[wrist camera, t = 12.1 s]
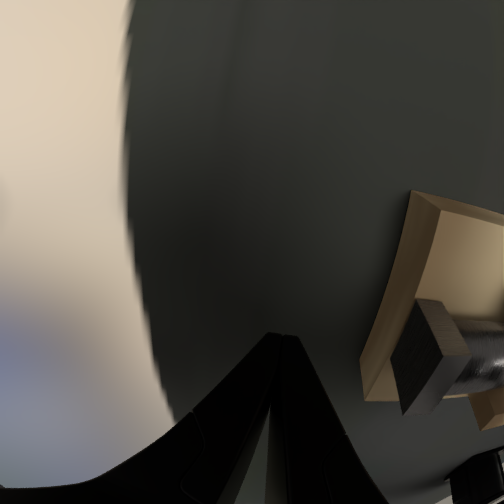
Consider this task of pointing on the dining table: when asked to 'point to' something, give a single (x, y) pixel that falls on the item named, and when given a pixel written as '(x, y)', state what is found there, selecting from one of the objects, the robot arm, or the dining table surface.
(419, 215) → the dock
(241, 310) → the dining table surface
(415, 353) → the lock pin
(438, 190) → the dining table surface
